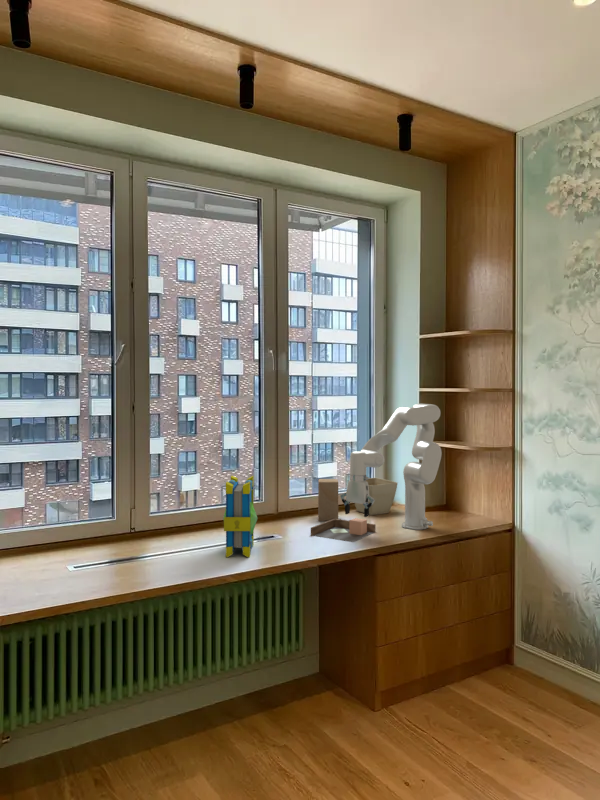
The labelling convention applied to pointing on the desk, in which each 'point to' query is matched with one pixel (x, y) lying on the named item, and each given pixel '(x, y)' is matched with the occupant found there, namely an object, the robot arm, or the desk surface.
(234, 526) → the decorative book
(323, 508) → the wooden block
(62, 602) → the desk surface
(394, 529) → the desk surface
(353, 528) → the cube
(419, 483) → the robot arm
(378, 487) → the flower pot
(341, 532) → the tray
